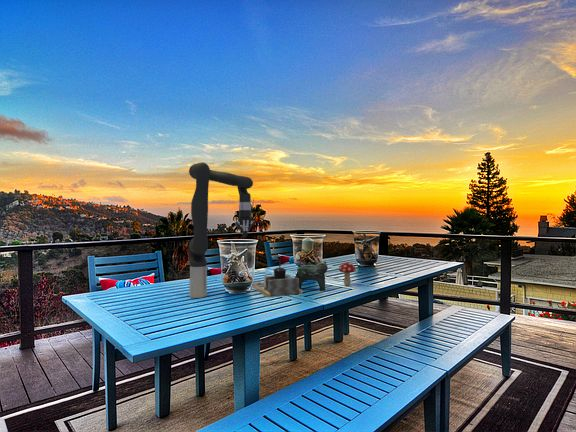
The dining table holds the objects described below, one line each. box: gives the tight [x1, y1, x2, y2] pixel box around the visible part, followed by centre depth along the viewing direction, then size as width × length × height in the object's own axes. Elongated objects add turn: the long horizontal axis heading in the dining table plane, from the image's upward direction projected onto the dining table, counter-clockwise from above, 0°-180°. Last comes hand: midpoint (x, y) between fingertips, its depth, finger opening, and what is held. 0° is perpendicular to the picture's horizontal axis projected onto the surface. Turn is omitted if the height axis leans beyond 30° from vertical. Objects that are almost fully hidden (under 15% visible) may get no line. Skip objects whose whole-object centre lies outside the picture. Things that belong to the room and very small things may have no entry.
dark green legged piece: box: [294, 257, 328, 292], centre depth 209 cm, size 20×6×20 cm, turn 84°
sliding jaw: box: [263, 273, 291, 292], centre depth 207 cm, size 16×3×9 cm, turn 113°
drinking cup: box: [272, 258, 287, 279], centre depth 203 cm, size 8×8×20 cm
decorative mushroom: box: [338, 262, 357, 287], centre depth 221 cm, size 11×11×15 cm
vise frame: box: [251, 277, 303, 298], centre depth 210 cm, size 22×31×9 cm
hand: (245, 237), depth 214 cm, fingers closed
